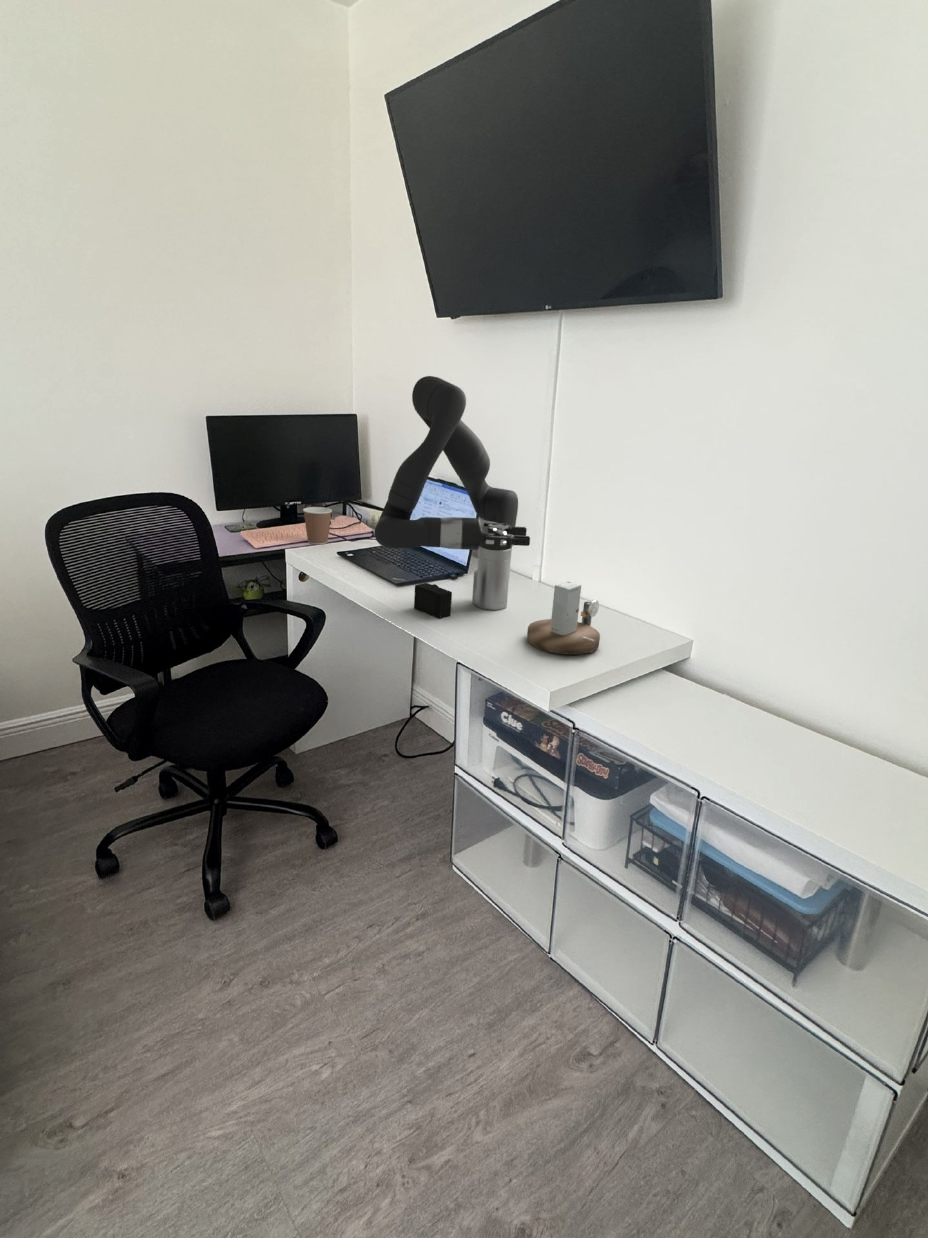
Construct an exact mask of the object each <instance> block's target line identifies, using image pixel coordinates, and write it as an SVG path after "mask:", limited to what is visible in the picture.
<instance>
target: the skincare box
mask: <svg viewBox="0 0 928 1238" xmlns="http://www.w3.org/2000/svg"><path fill="white" fill-rule="evenodd" d="M581 591H582V584H580V583H575V582H571V581H566V582H561V583H557V584H555V585H554V592H553V600H552V608H551V617H550V619H551V628H550V631H551V632H553V633H556V634H559V635H562V636H564V635H567V634H570V633H572V632H575V631H576V630H577V622H579V621H578V619H579V610H580V602H581V601H580V599H581V593H582V592H581Z"/></svg>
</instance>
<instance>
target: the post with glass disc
mask: <svg viewBox="0 0 928 1238" xmlns="http://www.w3.org/2000/svg"><path fill="white" fill-rule="evenodd" d="M599 608H600V602H599V601H598V600H597V599H592V600H591V601H583V609H582V611H581V612H580V616H581V617H582V618H581V623H583V624H586V625H589V626H591V627H592V625H591V624H592V619H593V617H595V616H597V614H598V611H599Z"/></svg>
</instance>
